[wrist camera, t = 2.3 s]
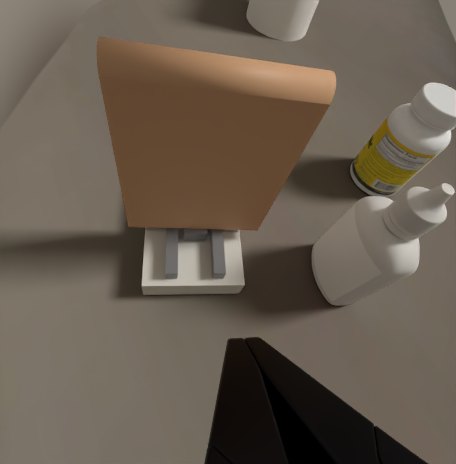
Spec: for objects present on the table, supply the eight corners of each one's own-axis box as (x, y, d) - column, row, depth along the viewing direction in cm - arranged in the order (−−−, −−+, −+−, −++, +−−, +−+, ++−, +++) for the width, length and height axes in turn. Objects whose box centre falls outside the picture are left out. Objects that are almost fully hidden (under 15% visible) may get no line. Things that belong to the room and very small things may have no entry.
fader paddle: (254, 241, 23) (342, 94, 12) (129, 238, 21) (92, 61, 10) (250, 214, 24) (328, 56, 13) (131, 209, 22) (101, 20, 11)
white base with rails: (238, 293, 23) (248, 280, 20) (143, 294, 21) (140, 281, 19) (225, 145, 30) (231, 122, 27) (152, 139, 28) (151, 113, 26)
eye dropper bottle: (298, 292, 24) (403, 213, 14) (314, 236, 27) (410, 135, 16) (349, 315, 24) (493, 252, 13) (359, 256, 27) (484, 168, 16)
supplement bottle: (370, 152, 34) (440, 70, 25) (405, 188, 32) (492, 113, 24) (337, 167, 32) (402, 84, 23) (373, 207, 30) (457, 132, 21)
